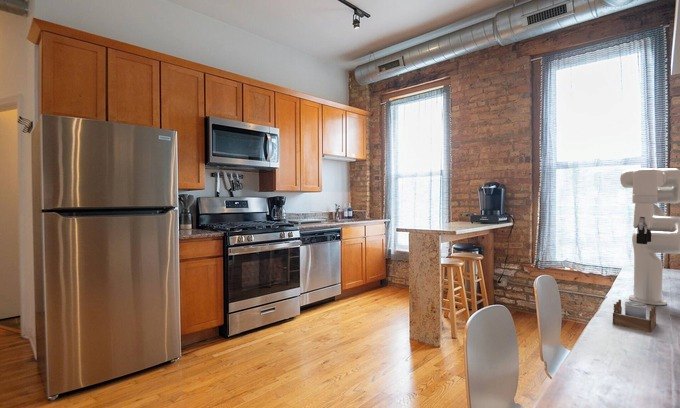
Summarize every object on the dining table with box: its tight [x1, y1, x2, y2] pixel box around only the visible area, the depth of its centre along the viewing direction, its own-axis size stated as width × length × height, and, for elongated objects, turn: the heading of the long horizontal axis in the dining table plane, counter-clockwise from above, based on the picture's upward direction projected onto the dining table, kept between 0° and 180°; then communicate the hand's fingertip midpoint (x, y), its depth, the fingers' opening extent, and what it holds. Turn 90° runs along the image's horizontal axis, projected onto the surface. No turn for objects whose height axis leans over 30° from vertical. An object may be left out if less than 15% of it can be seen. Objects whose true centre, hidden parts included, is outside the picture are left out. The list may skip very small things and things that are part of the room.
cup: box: [624, 300, 647, 319], centre depth 131 cm, size 6×6×7 cm
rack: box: [612, 299, 657, 333], centre depth 129 cm, size 12×11×7 cm
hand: (643, 242), depth 141 cm, fingers open, 9 cm apart
